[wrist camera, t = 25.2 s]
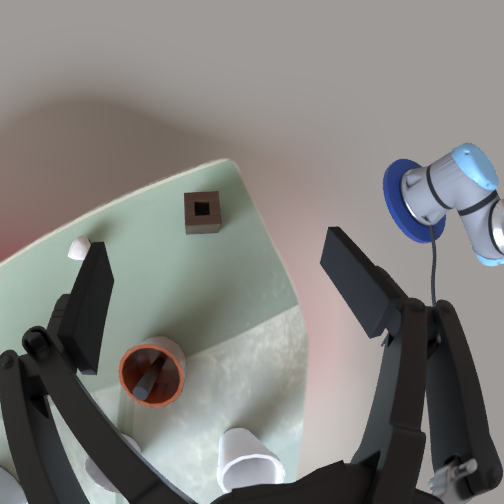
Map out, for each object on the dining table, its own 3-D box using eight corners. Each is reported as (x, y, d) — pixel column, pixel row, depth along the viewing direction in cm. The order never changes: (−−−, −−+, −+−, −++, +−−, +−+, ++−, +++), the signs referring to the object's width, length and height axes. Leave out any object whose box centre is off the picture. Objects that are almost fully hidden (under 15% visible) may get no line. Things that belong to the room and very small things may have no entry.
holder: (218, 232, 47) (221, 223, 43) (185, 234, 46) (185, 226, 41) (215, 202, 48) (218, 191, 44) (184, 204, 47) (184, 192, 42)
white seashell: (97, 256, 42) (92, 253, 40) (74, 268, 41) (68, 265, 38) (89, 234, 42) (84, 230, 40) (67, 246, 41) (62, 243, 39)
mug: (113, 418, 37) (96, 440, 27) (155, 446, 37) (148, 474, 27) (86, 456, 33) (69, 480, 23) (125, 482, 33) (115, 510, 24)
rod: (166, 363, 41) (150, 396, 23) (158, 368, 40) (138, 402, 23) (161, 355, 41) (142, 384, 23) (153, 359, 40) (129, 390, 23)
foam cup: (203, 429, 40) (208, 466, 27) (252, 413, 42) (273, 444, 30) (222, 467, 38) (233, 507, 26) (269, 451, 41) (292, 486, 28)
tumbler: (195, 371, 42) (196, 389, 31) (152, 393, 39) (142, 416, 29) (168, 327, 42) (161, 332, 32) (126, 349, 40) (107, 361, 29)
